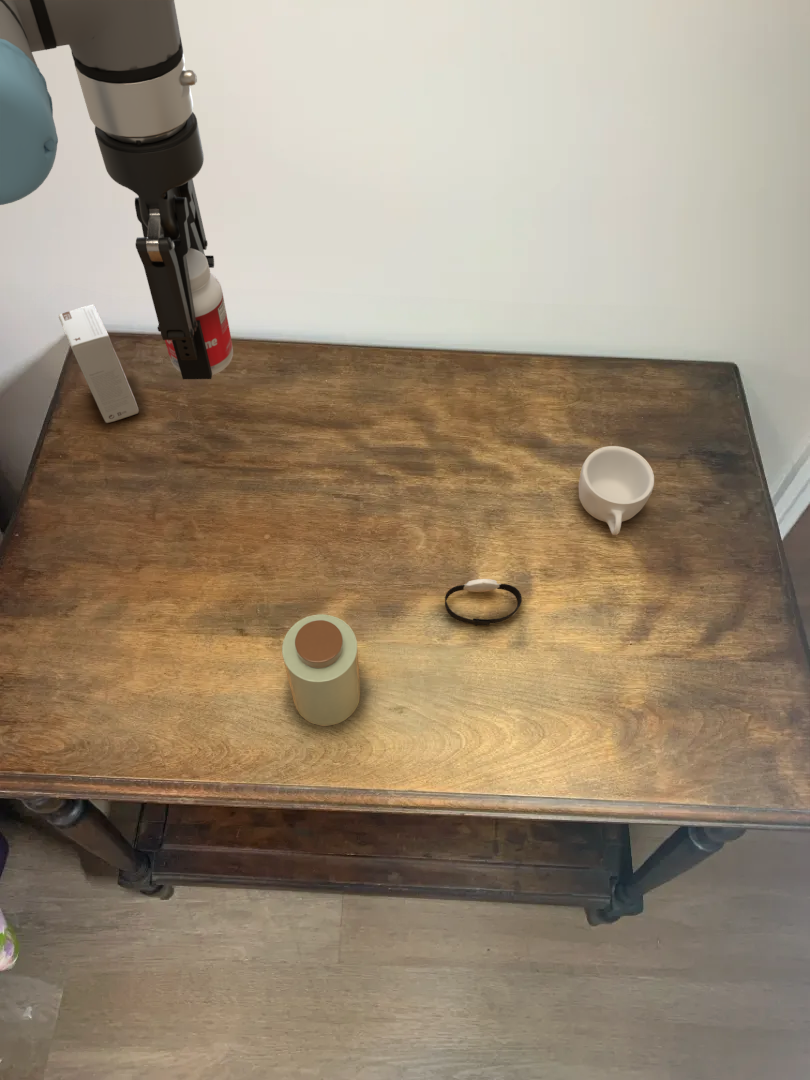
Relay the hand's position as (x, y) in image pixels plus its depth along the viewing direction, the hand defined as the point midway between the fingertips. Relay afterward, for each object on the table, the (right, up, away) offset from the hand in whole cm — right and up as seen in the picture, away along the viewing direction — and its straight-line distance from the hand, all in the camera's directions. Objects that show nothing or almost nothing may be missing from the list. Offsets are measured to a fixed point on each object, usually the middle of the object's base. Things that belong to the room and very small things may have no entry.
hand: (201, 350), depth 79 cm
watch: (+28, -26, +4) cm, 38 cm away
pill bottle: (0, -1, +1) cm, 1 cm away
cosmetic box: (-15, -2, +18) cm, 24 cm away
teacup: (+42, -16, +11) cm, 46 cm away
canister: (+13, -33, -2) cm, 36 cm away
